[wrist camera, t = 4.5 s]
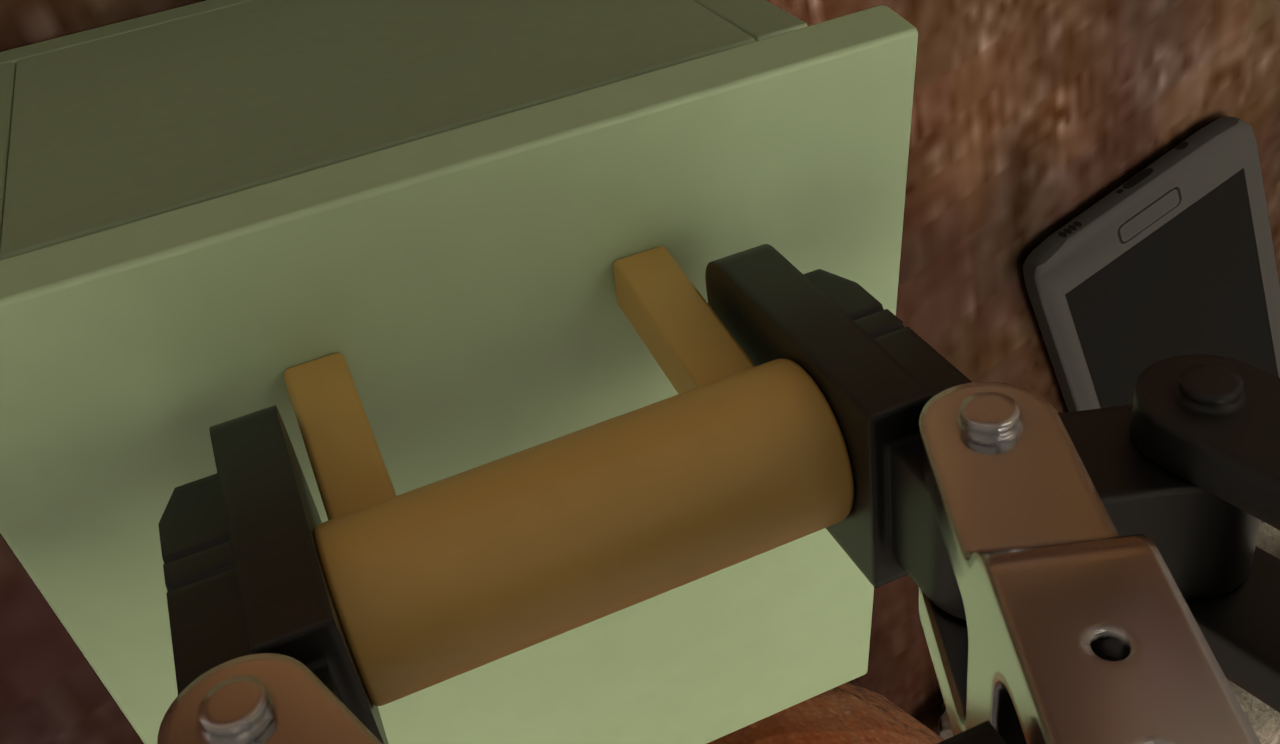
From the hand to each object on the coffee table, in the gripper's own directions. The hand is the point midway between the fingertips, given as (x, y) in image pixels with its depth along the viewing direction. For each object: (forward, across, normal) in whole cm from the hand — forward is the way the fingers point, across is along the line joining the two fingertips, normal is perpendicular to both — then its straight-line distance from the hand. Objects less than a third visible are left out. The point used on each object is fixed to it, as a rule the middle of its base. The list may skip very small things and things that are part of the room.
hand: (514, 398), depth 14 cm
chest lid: (+2, 0, +4) cm, 5 cm away
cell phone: (+12, -22, +15) cm, 29 cm away
